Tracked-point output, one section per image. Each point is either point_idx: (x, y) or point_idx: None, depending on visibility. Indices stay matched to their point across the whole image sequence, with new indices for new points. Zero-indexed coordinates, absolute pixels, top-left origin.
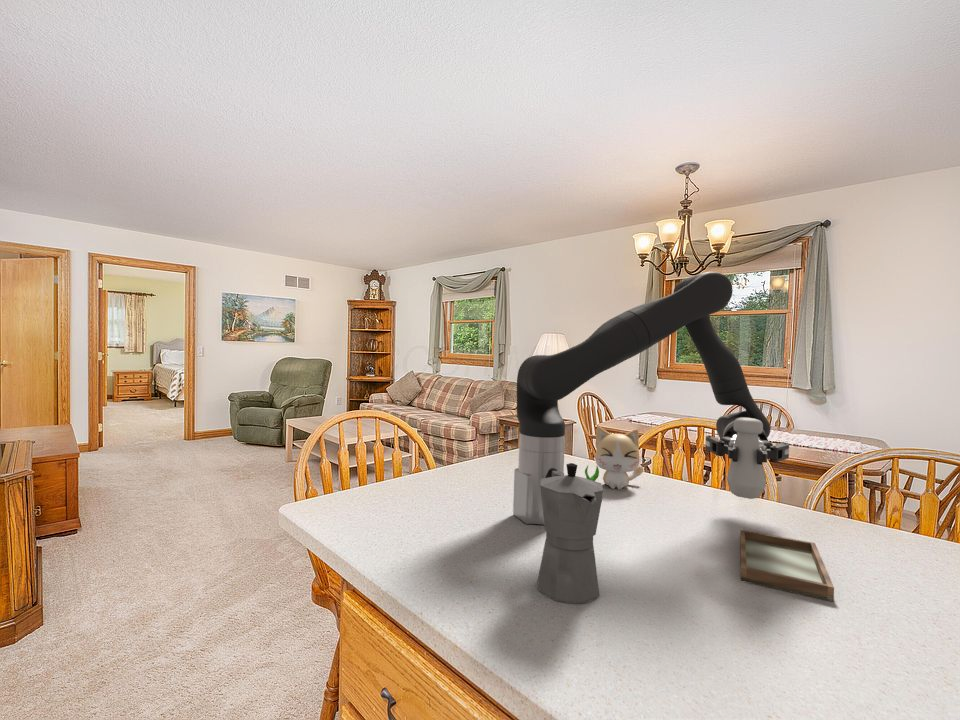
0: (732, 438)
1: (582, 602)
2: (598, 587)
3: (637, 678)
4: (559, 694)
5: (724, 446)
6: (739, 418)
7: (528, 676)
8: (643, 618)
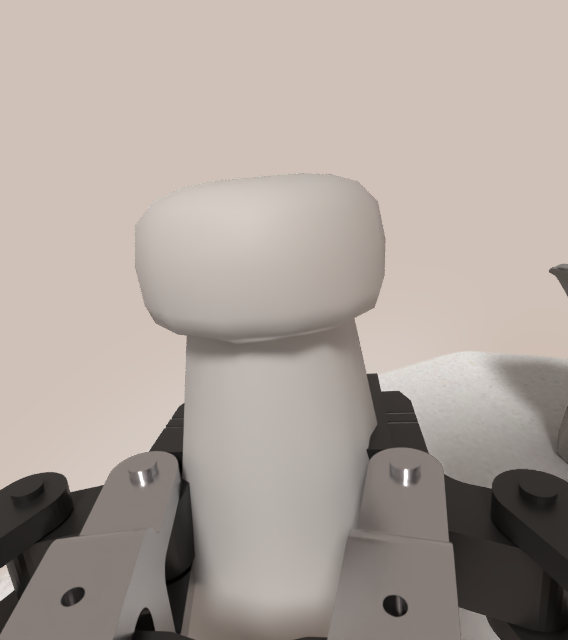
0: (429, 555)
1: (559, 431)
2: (560, 441)
3: (427, 381)
4: (470, 356)
5: (473, 493)
6: (332, 175)
7: (503, 358)
8: (469, 441)
